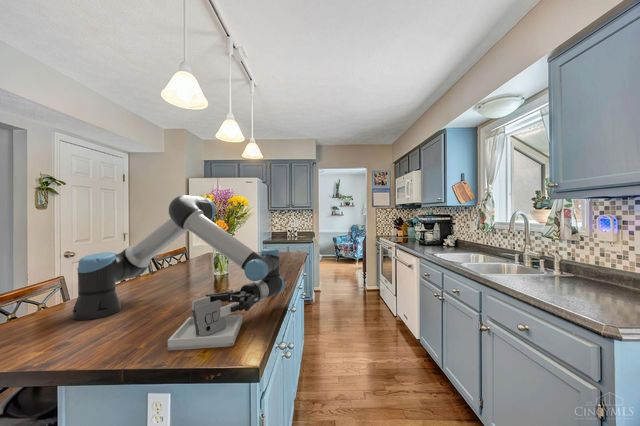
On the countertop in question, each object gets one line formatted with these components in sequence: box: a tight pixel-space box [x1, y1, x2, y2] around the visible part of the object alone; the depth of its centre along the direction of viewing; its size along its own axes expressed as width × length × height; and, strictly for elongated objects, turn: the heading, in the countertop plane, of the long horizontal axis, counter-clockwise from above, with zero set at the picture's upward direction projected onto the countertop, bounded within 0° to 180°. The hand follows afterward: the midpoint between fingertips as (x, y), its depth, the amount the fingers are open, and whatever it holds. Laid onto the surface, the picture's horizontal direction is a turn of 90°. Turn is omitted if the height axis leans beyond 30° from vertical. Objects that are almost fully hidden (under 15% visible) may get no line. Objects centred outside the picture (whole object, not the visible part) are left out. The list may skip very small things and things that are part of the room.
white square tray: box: [167, 313, 243, 352], centre depth 89 cm, size 18×18×3 cm
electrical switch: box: [192, 300, 226, 337], centre depth 89 cm, size 9×5×9 cm, turn 147°
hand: (206, 309), depth 88 cm, fingers open, 13 cm apart
